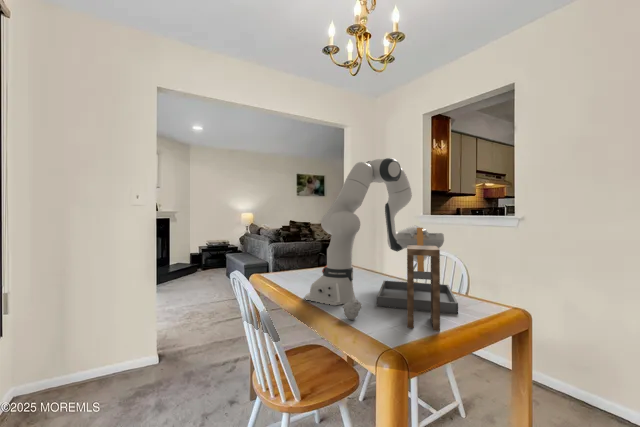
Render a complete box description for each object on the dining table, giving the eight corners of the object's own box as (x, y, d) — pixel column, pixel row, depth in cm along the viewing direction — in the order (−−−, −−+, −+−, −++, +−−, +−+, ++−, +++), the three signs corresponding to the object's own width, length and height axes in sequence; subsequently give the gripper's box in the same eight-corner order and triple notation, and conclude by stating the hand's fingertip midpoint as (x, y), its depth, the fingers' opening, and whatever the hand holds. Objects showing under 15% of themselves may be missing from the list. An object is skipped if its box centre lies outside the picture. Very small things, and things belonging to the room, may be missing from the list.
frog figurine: (362, 322, 98) (362, 302, 98) (342, 321, 99) (341, 301, 99) (361, 316, 104) (361, 297, 105) (342, 315, 105) (342, 296, 105)
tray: (377, 306, 116) (377, 296, 116) (383, 288, 144) (383, 280, 144) (458, 314, 107) (458, 303, 107) (448, 293, 135) (448, 284, 135)
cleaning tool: (409, 278, 123) (409, 278, 120) (409, 228, 129) (409, 227, 126) (432, 279, 120) (432, 279, 117) (430, 228, 126) (431, 227, 123)
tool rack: (407, 327, 94) (407, 248, 94) (407, 315, 106) (407, 245, 106) (440, 331, 91) (439, 249, 91) (436, 318, 103) (436, 246, 103)
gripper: (396, 237, 140) (395, 224, 129) (441, 238, 134) (444, 224, 123) (396, 249, 137) (395, 237, 126) (442, 251, 131) (445, 238, 119)
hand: (420, 231), depth 124 cm, fingers closed on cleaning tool, 2 cm apart
